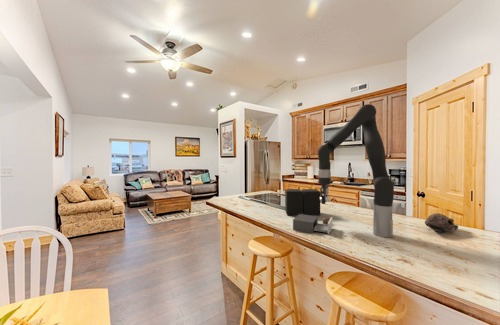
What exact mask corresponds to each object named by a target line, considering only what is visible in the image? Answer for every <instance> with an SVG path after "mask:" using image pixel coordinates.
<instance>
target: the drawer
mask: <svg viewBox="0 0 500 325" xmlns="http://www.w3.org/2000/svg"><path fill="white" fill-rule="evenodd" d="M332 229H333V216H330V217H329V222H328V224H327V225H326V224H323V223H319V222H318V223H317V224H316V226H315V227H314V232H320V233H321V232H322V233H327V234H328V235H330V233H331V232H332Z"/></svg>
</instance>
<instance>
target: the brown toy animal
mask: <svg viewBox="0 0 500 325" xmlns="http://www.w3.org/2000/svg"><path fill="white" fill-rule="evenodd" d="M454 222H455V220H454V219H453V218H449V217H448V216H446V215H445V214H443V213H439V212H438V213H437V212H436V213H433V214H431V215H429V216H428V217H427V219H426V220H425V221H424V224H425V226H426V227H428V228H429V229H431V230H433V231H435V232H437V233H442V232H444V230H450V231H451V230H453V231H455V232H456V231H457V230H458V229H459V225H457V224H455V223H454Z"/></svg>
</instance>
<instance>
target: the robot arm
mask: <svg viewBox="0 0 500 325" xmlns="http://www.w3.org/2000/svg"><path fill="white" fill-rule="evenodd" d="M376 115H377V109H376V107H375V105H373V104H369V103H368V104H364V105H362V106H361V107H359V109H358V110H357V112H356V113H355V115H353V117H351V119H350V120H349V121H348V122H347V123H346V124H344V125H343V126H342V127H341V128H340V129H339V130H337V131H336V132H335V133H334V134H333V135H332V136H330V138H329V139H328V140H327V142H326V143H324V144H321V145H320V146H319V147H318V149H317V156H318V158H317V159H318V174H317V180H318V185H321V187H320V188H319V191H320V197H321V198H322V202H321V204H322V205H326V202H325V198H326V197H329V188H330V186H329V185H331V184H332V173H331V160H330V155H331V154H332V153H333V151H335V150H336V149H337V148H338V147H339V146H340V145H342V143H344V142H345V141H346V140H347V139H348V138H349V137H350V136H352V135H353V133H354V132H355V131H356V130H357V129H359V128H360V127H361V128H362V131H363V132H362V133H363V140H364V146H365V147H364V148H365V153H366V156H367V159H368V163H369V165H370V168H371V173H372V180H373V182H372V184H373V188H374V189H373V190H374V193H373V194H374V197H373V221H372V222H373V223H372V224H373V225H372V226H373V227H372V230H373V231H372V234H373V235H375V236H376V237H381V238H393V237H394V236H393V234H394V232H393V231H394V228H393V227H394V220H393V208H394V207H393V205H394V204H393V203H394V197H395V186H394V181H392V180H391V179H390V177H389V174H388V170H387V165H386V164H387V163H386V161H387V160H386V150H385V146H384V142H383V139H382V136H381V134H380V131H379V130H378V126H377V119H376Z"/></svg>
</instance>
